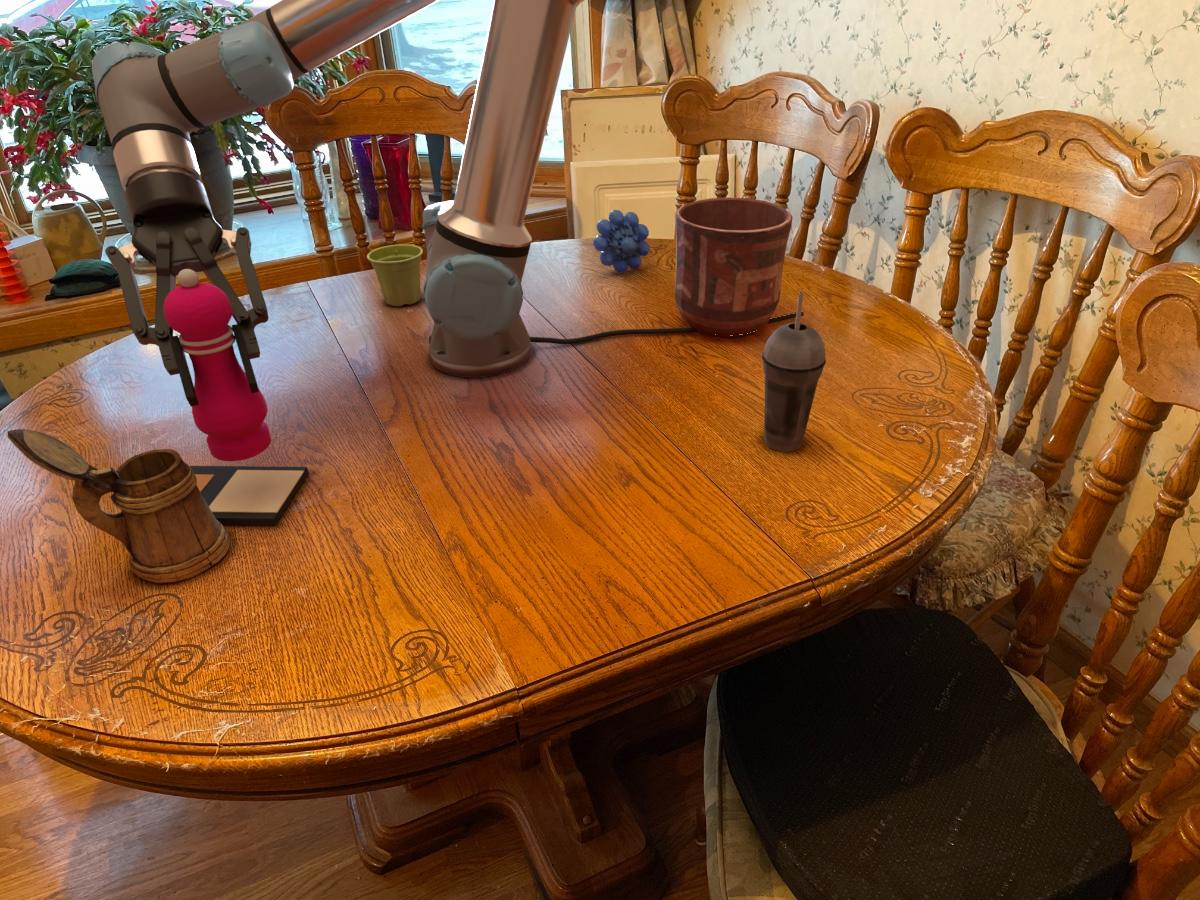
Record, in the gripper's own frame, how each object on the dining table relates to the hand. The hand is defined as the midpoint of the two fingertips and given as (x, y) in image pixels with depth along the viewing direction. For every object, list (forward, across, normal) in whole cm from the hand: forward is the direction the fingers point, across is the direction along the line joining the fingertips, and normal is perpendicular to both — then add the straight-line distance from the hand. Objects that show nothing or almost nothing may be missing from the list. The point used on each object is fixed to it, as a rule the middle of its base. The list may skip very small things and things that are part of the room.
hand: (223, 394), depth 78 cm
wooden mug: (+13, +10, -9) cm, 19 cm away
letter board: (+7, +3, -15) cm, 16 cm away
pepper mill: (+3, 0, -9) cm, 9 cm away
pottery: (-2, -74, -23) cm, 77 cm away
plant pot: (-27, -30, -49) cm, 64 cm away
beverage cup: (+22, -59, 0) cm, 63 cm away
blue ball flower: (-22, -71, -43) cm, 86 cm away
